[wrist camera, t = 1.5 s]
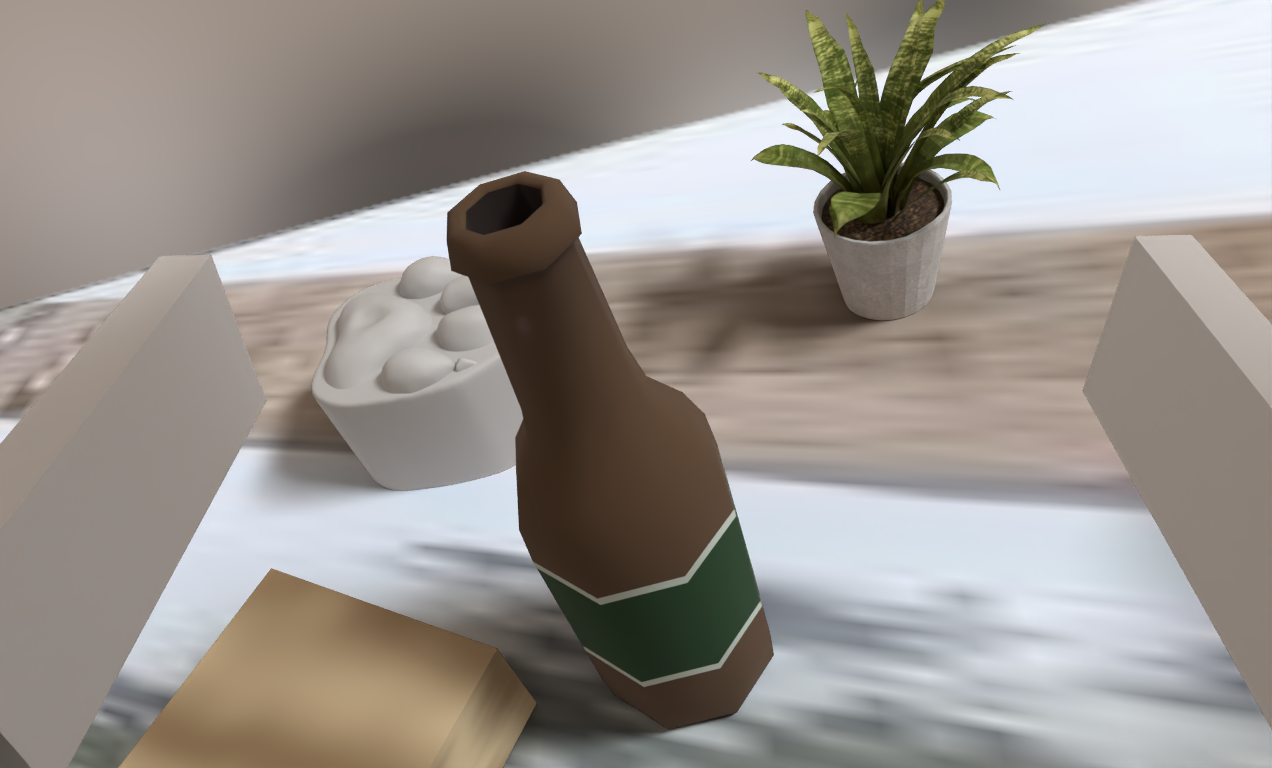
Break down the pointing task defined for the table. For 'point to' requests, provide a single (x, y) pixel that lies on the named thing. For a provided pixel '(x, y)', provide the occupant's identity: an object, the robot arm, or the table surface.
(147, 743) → the olive wood block
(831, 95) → the house plant
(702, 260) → the table surface
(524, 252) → the beer bottle
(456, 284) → the lumpy-topped squat cylinder
